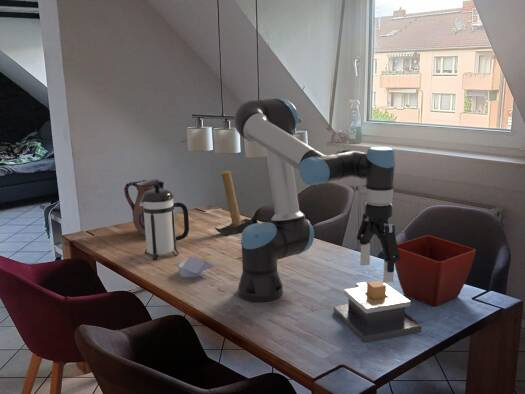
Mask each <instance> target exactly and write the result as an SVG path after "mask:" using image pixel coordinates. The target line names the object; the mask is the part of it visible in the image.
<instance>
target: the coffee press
mask: <svg viewBox="0 0 525 394" xmlns="http://www.w3.org/2000/svg"><path fill="white" fill-rule="evenodd" d="M154 188H155V189H153V190H149V191H146V192H145V193H144V194H143V197H142V200H141V202H140V205H139V206H143V212H144V222H145V235H144V236H145V242H146V243H145V244H146V248H145V250H144V254H145V255H148V254H150V255H152V261H157V260H158V257H159V256H165V255H170V254H173V255H174V256H175V257H178V256H179V255H180V252H179V251H178V249H177V242H178V241H181V240H184V239H185V238H186V237H187V236H188V235H189V233H190V231H189V230H190V223H189V221H190V220H189V210H188V208H187V206H186V205H185V204H184V203H182V202H174V197H175V195H174V194H173V192H172V191H171V190H169V189H165V188H163V189H159V188H160V186H159V184H155V186H154ZM175 208H181V209H182V212H183V227H184V231H183V233H182V234H181V235H176V228H175Z"/></svg>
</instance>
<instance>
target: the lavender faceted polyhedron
mask: <svg viewBox="0 0 525 394" xmlns="http://www.w3.org/2000/svg"><path fill="white" fill-rule="evenodd" d="M214 267H215V265H214V264H212V263H211V262H208V261H206V260H204V259H200V258H197V257H196V256H195V257H194V256H192V255H190V256H188V259H186V260H185V261H181V262H180V263H179V264H178V274H180V275H181V276H180V275H179V276H180V277H183V278H194V277H195V276H196V277H200V276H201V275H203V274H202V273H204V271H206V270H209V269H212V268H214Z"/></svg>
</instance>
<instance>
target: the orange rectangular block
mask: <svg viewBox="0 0 525 394" xmlns="http://www.w3.org/2000/svg"><path fill="white" fill-rule="evenodd" d="M366 283H367V296H368V297H369V298H370V299H371V300H378V299H384V298H386V285H385V284H383V283H384V282H383V281H381V280H375V281H368V282H366Z"/></svg>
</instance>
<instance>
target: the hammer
mask: <svg viewBox="0 0 525 394" xmlns="http://www.w3.org/2000/svg"><path fill="white" fill-rule="evenodd" d="M220 175H221V178H222V182H223V183H222V184H223V187H224V191H225V196H226V200H227V205H228V209H229V214H230V219H231V223H230V224H229V225H226V226H224V227H221V228H217V227H214V229H215V230H216V231H217V232H218V233H219V234H221V235H223V236H226V237H229V236H233V235H237V234H242V232H243V230H244V229H245V228H246V227H248V226H249V225H252V224H255V223H259V222H258V220H257V218H256V217H255V216H254V217H252V218H251V219H250V218H244V219H241V216H240V215H241V214H240V211H239V204H238V202H237V197H236V193H235V186H234V182H233V178H232V172H231V171H230V170H225V171H221V174H220Z"/></svg>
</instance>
